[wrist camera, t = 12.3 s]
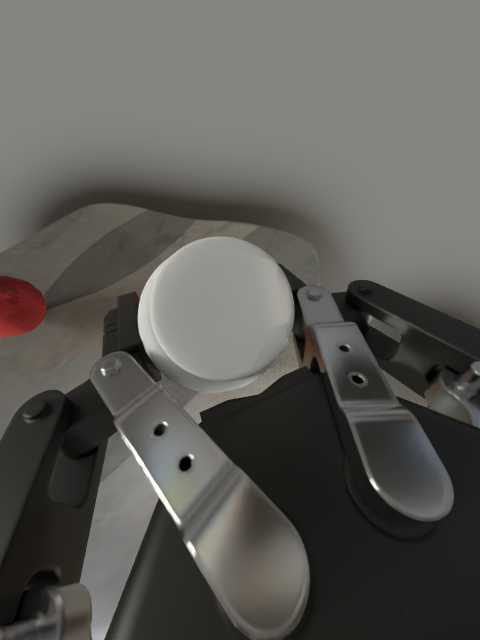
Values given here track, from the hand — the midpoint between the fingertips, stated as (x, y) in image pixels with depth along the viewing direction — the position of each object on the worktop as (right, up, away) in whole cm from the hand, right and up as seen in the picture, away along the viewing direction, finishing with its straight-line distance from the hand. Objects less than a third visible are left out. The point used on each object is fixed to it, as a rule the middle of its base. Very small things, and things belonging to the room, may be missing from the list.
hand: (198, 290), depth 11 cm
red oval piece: (-22, -1, +14) cm, 26 cm away
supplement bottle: (0, -2, +5) cm, 5 cm away
